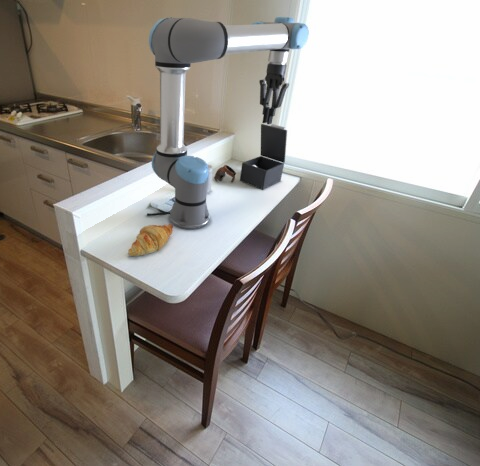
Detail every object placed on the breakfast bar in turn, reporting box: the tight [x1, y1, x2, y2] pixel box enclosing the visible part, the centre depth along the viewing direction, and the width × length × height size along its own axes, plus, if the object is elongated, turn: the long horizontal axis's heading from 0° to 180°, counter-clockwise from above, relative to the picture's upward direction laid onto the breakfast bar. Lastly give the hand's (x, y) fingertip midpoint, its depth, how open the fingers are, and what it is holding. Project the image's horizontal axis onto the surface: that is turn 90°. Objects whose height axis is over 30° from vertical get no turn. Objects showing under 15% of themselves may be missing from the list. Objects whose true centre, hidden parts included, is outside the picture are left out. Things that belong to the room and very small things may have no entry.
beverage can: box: [207, 163, 214, 194], centre depth 143 cm, size 6×6×12 cm
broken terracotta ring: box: [213, 164, 237, 183], centre depth 156 cm, size 12×9×8 cm
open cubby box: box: [239, 155, 285, 190], centre depth 157 cm, size 16×14×9 cm
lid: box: [260, 123, 288, 164], centre depth 154 cm, size 16×14×5 cm
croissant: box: [127, 223, 174, 257], centre depth 107 cm, size 21×10×8 cm, turn 145°
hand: (267, 123), depth 142 cm, fingers closed
